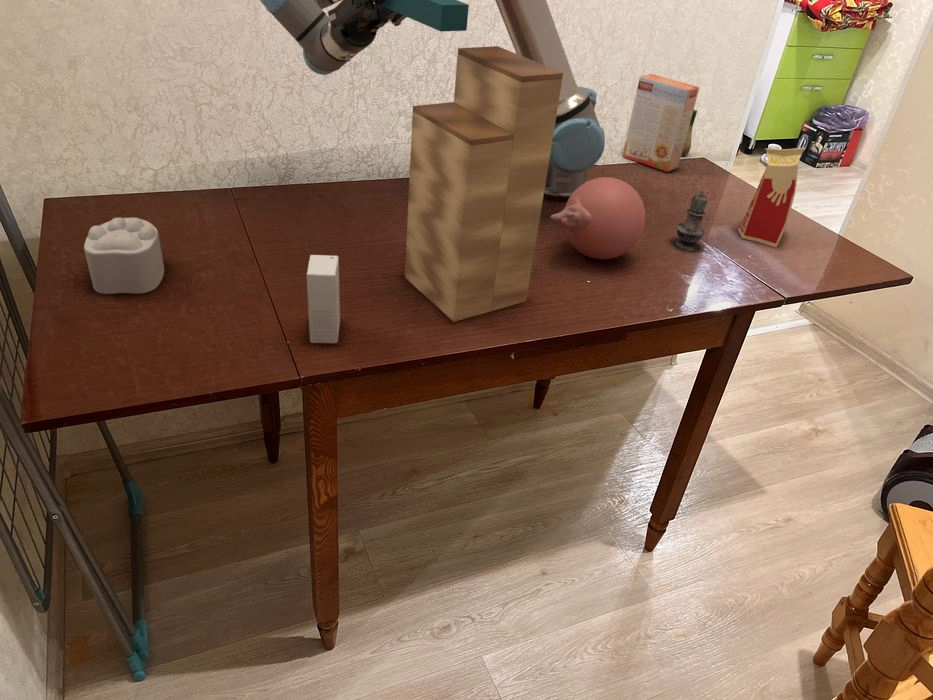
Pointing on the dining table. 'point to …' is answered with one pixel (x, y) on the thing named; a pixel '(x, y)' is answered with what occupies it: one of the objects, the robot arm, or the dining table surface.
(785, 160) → the red printed carton
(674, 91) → the cracker box
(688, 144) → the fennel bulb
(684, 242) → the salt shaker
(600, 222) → the balloon
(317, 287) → the cosmetic box
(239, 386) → the dining table surface
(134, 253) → the lumpy-topped squat cylinder
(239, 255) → the dining table surface
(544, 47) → the robot arm
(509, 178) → the step stand
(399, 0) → the long teal rectangular block
